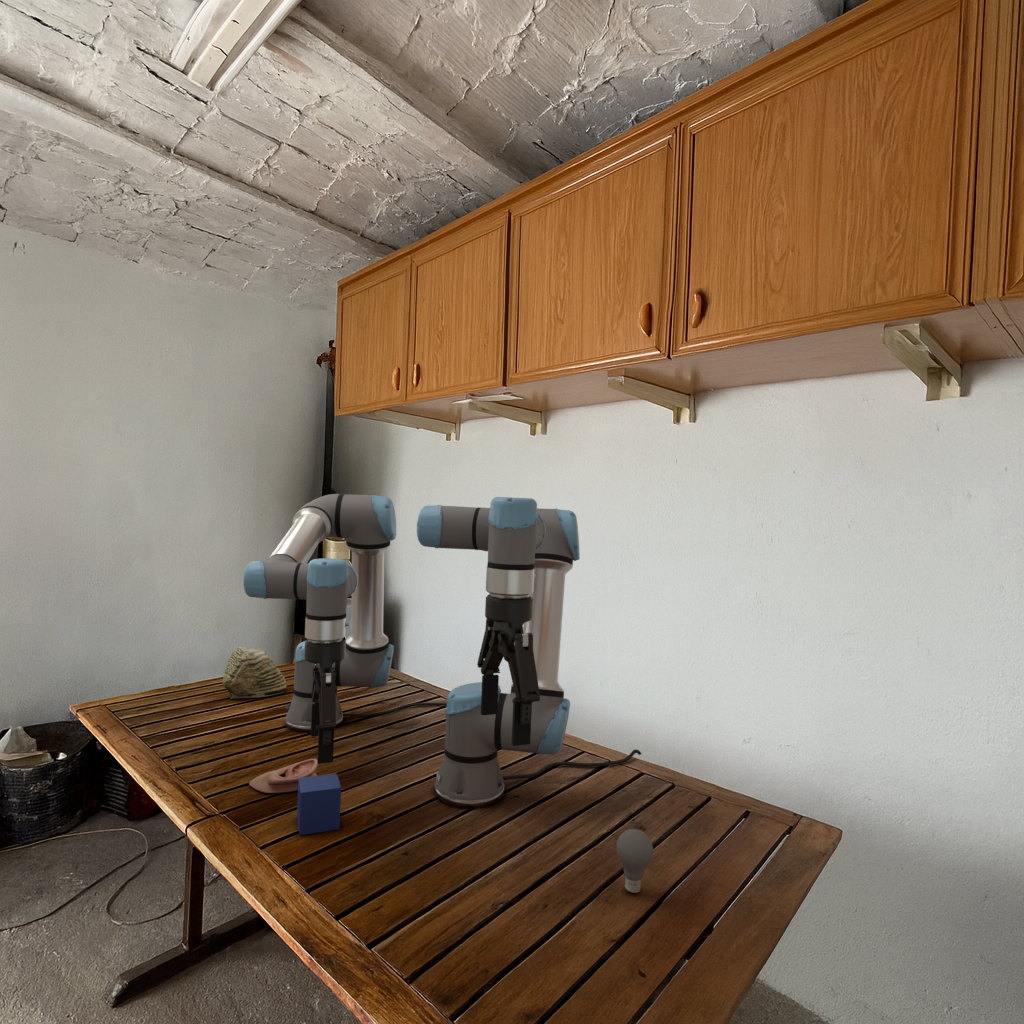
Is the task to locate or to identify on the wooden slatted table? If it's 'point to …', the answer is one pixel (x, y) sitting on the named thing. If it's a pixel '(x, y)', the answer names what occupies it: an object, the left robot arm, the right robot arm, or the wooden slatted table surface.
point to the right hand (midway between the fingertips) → (503, 728)
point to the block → (318, 804)
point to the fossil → (252, 674)
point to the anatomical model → (284, 777)
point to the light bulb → (634, 857)
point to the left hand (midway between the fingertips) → (321, 748)
